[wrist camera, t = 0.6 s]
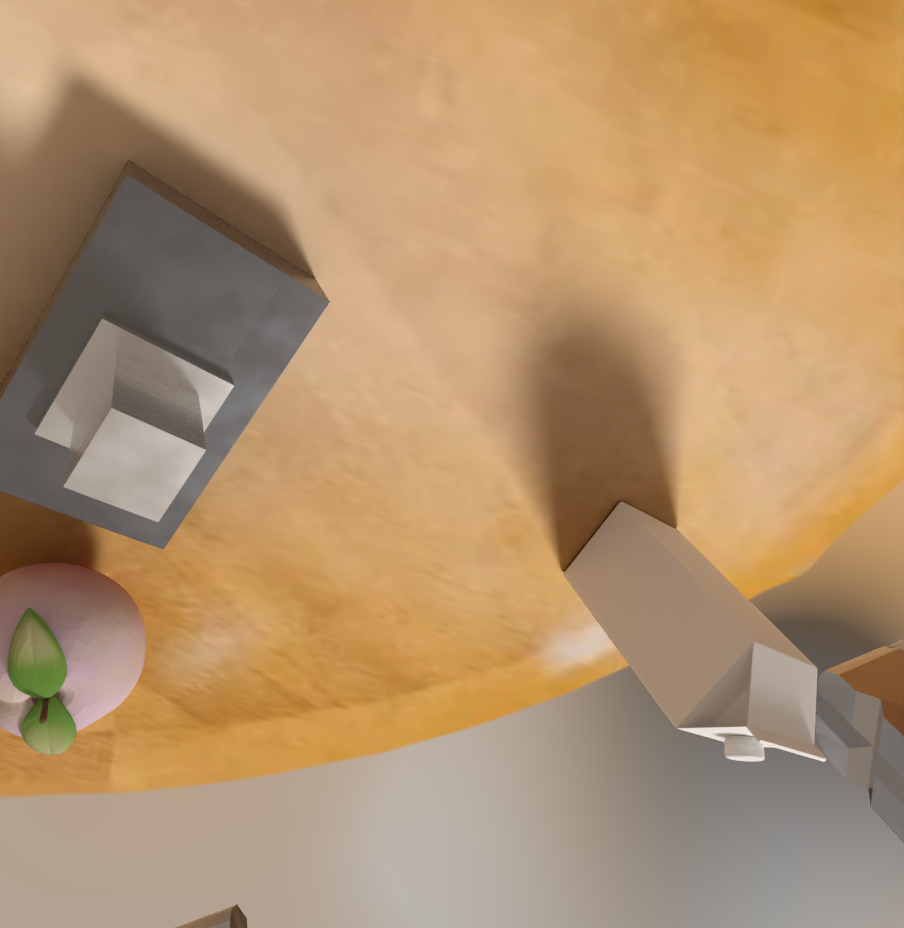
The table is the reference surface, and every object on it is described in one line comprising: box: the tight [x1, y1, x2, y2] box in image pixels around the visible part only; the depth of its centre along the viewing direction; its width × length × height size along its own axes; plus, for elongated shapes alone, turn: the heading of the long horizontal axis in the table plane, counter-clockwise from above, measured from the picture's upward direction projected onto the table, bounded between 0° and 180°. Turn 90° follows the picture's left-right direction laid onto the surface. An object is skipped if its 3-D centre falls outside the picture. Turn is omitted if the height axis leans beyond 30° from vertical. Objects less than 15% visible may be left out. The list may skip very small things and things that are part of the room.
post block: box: [0, 161, 330, 549], centre depth 37 cm, size 10×16×4 cm, turn 141°
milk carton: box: [564, 502, 827, 762], centre depth 49 cm, size 7×7×19 cm
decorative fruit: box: [0, 563, 146, 755], centre depth 39 cm, size 9×8×10 cm
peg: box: [35, 314, 234, 522], centre depth 34 cm, size 6×6×10 cm
